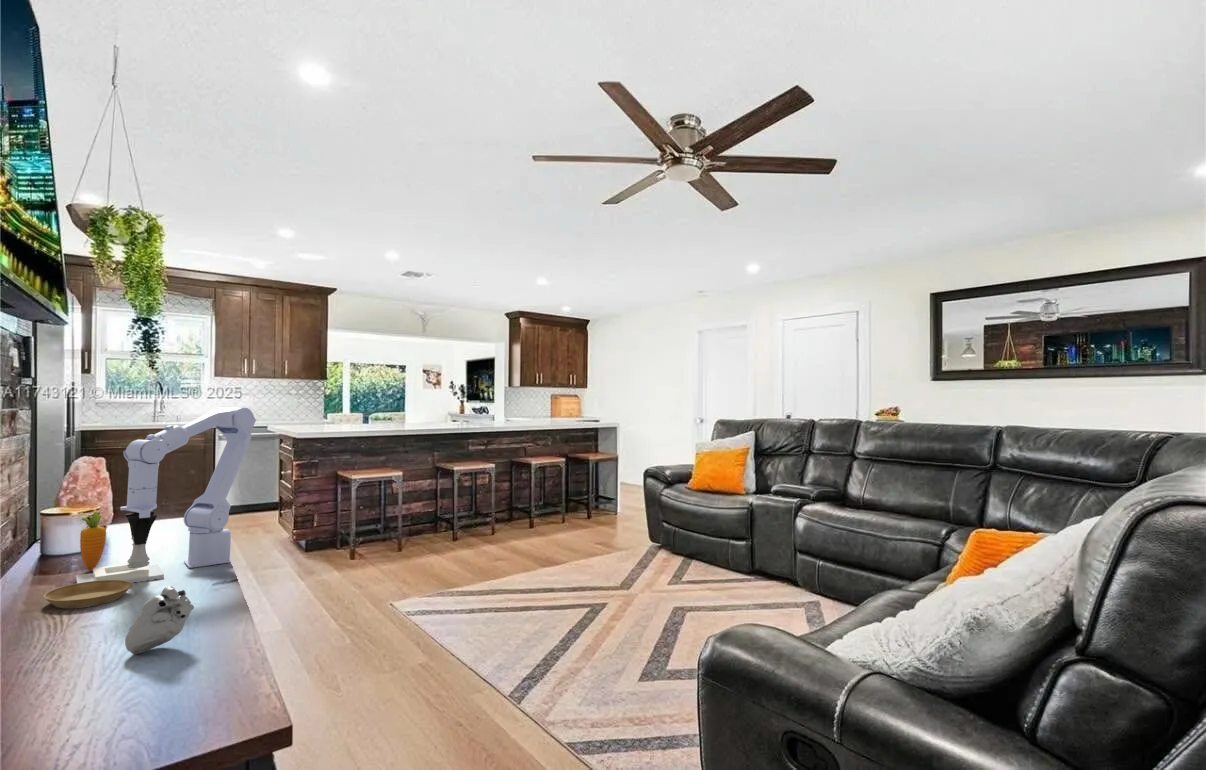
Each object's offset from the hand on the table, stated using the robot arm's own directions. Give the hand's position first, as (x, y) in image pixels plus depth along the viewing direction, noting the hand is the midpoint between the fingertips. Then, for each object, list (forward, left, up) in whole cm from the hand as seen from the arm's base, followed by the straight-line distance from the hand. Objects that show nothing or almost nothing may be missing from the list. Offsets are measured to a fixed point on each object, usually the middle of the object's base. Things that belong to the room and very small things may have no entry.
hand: (139, 542), depth 141 cm
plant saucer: (+9, +10, -10) cm, 17 cm away
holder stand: (+3, -4, -9) cm, 11 cm away
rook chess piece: (0, 0, -6) cm, 6 cm away
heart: (+2, +51, -10) cm, 52 cm away
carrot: (+8, -17, -10) cm, 21 cm away
